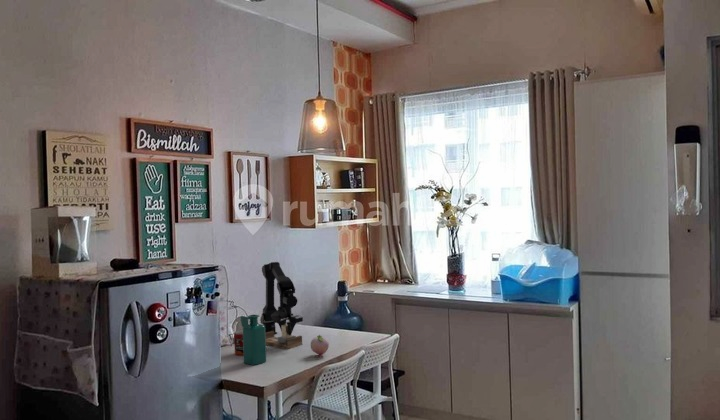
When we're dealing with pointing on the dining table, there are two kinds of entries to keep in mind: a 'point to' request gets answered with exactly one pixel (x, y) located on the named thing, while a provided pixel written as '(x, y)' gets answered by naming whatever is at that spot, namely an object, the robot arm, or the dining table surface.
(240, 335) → the canned food
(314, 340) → the decorative fruit
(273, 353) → the dining table surface
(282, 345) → the base
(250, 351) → the pitcher
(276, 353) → the dining table surface
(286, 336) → the handle
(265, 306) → the robot arm
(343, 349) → the dining table surface
